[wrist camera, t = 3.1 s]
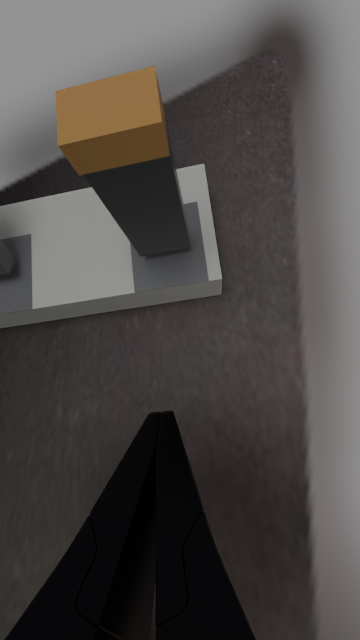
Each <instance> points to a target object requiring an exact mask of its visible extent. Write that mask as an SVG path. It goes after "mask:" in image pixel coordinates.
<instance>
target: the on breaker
mask: <svg viewBox="0 0 360 640" xmlns="http://www.w3.org/2000/svg"><path fill="white" fill-rule="evenodd" d="M16 261H17V259H16V258H15V257H14V255H13V254H12V253H11V251H10V250H9V249H8V248H7V246H6V245H5V244H4V243H3V241H2V240H1V239H0V275H4V274H9V273H10V271H11V269H12V268H13V266H14V264H15V262H16Z"/></svg>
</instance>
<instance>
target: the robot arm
mask: <svg viewBox="0 0 360 640" xmlns="http://www.w3.org/2000/svg"><path fill="white" fill-rule="evenodd" d="M155 581H156V627H157V628H156V640H256V638H255V636H254V634H253V631H252V629H251V627H250V625H249V622H248V620H247V618H246V616H245V613H244V611H243V609H242V606H241V604H240V602H239V600H238V597H237V595H236V593H235V590H234V588H233V586H232V584H231V581H230V579H229V577H228V574H227V572H226V570H225V567H224V565H223V562H222V560H221V558H220V555H219V553H218V550H217V548H216V545H215V542H214V539H213V536H212V533H211V530H210V527H209V524H208V521H207V518H206V515H205V512H204V509H203V505H202V502H201V499H200V496H199V493H198V489H197V486H196V483H195V480H194V476H193V473H192V470H191V467H190V463H189V460H188V457H187V454H186V451H185V447H184V444H183V441H182V438H181V434H180V431H179V428H178V425H177V422H176V418H175V415H174V412H173V411H163V412H162V413H161V412H151V413H149V414H148V416H147V418H146V419H145V421H144V423H143V424H142V426H141V428H140V430H139V431H138V433H137V435H136V436H135V438H134V440H133V441H132V443H131V445H130V446H129V448H128V450H127V452H126V453H125V455H124V457H123V458H122V460H121V462H120V463H119V465H118V467H117V468H116V470H115V472H114V474H113V475H112V477H111V479H110V480H109V482H108V484H107V485H106V487H105V489H104V490H103V492H102V494H101V496H100V497H99V499H98V501H97V502H96V504H95V506H94V507H93V509H92V511H91V512H90V516H88V517H87V519H86V521H85V522H84V524H83V526H82V528H81V529H80V531H79V533H78V534H77V536H76V537H75V539H74V541H73V542H72V544H71V545H70V547H69V549H68V550H67V552H66V553H65V555H64V556H63V558H62V559H61V560H60V562H59V563H58V565H57V566H56V568H55V569H54V571H53V572H52V574H51V575H50V577H49V578H48V579H47V581H46V582H45V584H44V585H43V586H42V588H41V589H40V591H39V592H38V594H37V595H36V596H35V598H34V599H33V601H32V602H31V603H30V605H29V606H28V608H27V609H26V611H25V612H24V613H23V615H22V616H21V618H20V619H19V620H18V622H17V623H16V625H15V626H14V628H13V629H12V630H11V632H10V633H9V634H8V636H7V637H6V638H5V640H149V637H150V627H151V618H152V609H153V599H154V590H155Z"/></svg>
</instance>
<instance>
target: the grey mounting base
mask: <svg viewBox="0 0 360 640" xmlns="http://www.w3.org/2000/svg"><path fill="white" fill-rule="evenodd" d="M176 171H177V176H178V181H179V185H180V190H181V195H182V199H183V204H184V209H185V214H186V218H187V223H188V229H189V236H190V243H191V248H185V249H179V250H174V251H168V252H162V253H157V254H151V255H145V256H140V255H139V254H138V252H137V251H136V250H135V248H134V247H133V245H132V244H131V242H130V241H129V240H128V238H127V237H126V235H125V234H124V232H123V231H122V230H121V228H120V227H119V225H118V224H117V222H116V221H115V220H114V218H113V217H112V215H111V214H110V212H109V211H108V210H107V208H106V207H105V205H104V204H103V202H102V201H101V200H100V198H99V197H98V195H97V194H96V192H95V191H94V190H93V188H92V187H90V188H85V189H80V190H76V191H71V192H66V193H61V194H57V195H52V196H47V197H42V198H37V199H33V200H28V201H23V202H18V203H14V204H9V205H4V206H0V239H1V240H2V241H3V243H4V244H5V245H6V246H7V248H8V249H9V250H10V251H11V253H12V254H13V255H14V257H15V258H16V259H17V261H16V262H15V264H14V266H13V268H12V269H11V271H10V273H9V274H4V275H0V328H6V327H13V326H19V325H26V324H33V323H39V322H46V321H52V320H59V319H65V318H72V317H78V316H85V315H91V314H98V313H104V312H111V311H117V310H124V309H130V308H137V307H144V306H150V305H157V304H163V303H170V302H176V301H183V300H189V299H196V298H202V297H209V296H215V295H221V294H222V275H221V269H220V262H219V256H218V249H217V243H216V237H215V230H214V224H213V218H212V211H211V205H210V199H209V192H208V186H207V180H206V173H205V167H204V164H200V165H195V166H190V167H185V168H180V169H176Z"/></svg>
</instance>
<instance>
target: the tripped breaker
mask: <svg viewBox="0 0 360 640" xmlns="http://www.w3.org/2000/svg"><path fill="white" fill-rule="evenodd" d="M56 111H57V136H58V146H59V148H60V149H61V151H62V152H63V154H64V155H65V156H66V158H67V159H68V161H69V162H70V163H71V165H72V166H73V168H74V169H75V170H76V172H77V173H78V174H79V175H84V177H85V178H86V180H87V181H88V182H89V184H90V185H91V187H92V188H93V190H94V191H95V192H96V194H97V195H98V197H99V198H100V200H101V201H102V202H103V204H104V205H105V207H106V208H107V210H108V211H109V212H110V214H111V215H112V217H113V218H114V220H115V221H116V222H117V224H118V225H119V227H120V228H121V230H122V231H123V232H124V234H125V235H126V237H127V238H128V240H129V241H130V242H131V244H132V245H133V247H134V248H135V250H136V251H137V252H138V254H139V255H140V256H145V255H151V254H157V253H162V252H168V251H174V250H179V249H185V248H191V243H190V236H189V229H188V223H187V218H186V214H185V209H184V204H183V199H182V195H181V190H180V185H179V181H178V176H177V171H176V166H175V162H174V157H173V152H172V148H171V143H170V138H169V134H168V129H167V124H166V119H165V115H164V108H163V103H162V98H161V93H160V89H159V84H158V79H157V74H156V70H155V66H153V67H149V68H145V69H141V70H137V71H133V72H129V73H125V74H121V75H117V76H114V77H110V78H106V79H102V80H98V81H94V82H90V83H86V84H83V85H79V86H75V87H71V88H67V89H63V90H59V91H56Z"/></svg>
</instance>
